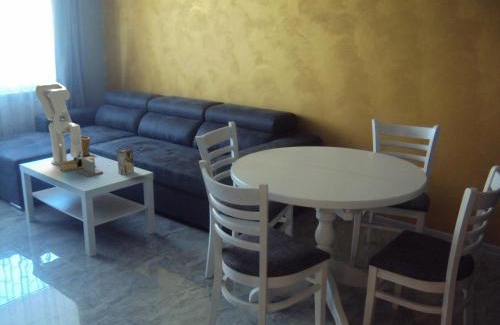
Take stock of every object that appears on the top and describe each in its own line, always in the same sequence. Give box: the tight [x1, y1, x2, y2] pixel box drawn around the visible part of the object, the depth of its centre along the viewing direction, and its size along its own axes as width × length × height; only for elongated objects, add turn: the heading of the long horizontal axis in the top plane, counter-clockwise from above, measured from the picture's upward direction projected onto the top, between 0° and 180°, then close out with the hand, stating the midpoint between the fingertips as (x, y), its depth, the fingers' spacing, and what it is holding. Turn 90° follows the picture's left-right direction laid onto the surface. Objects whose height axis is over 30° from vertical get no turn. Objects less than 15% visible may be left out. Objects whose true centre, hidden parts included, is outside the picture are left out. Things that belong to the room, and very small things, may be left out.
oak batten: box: [59, 156, 96, 173], centre depth 346 cm, size 4×24×6 cm, turn 136°
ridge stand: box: [75, 157, 104, 178], centre depth 335 cm, size 16×12×10 cm
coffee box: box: [116, 148, 135, 176], centre depth 336 cm, size 9×6×16 cm
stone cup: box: [81, 135, 91, 157], centre depth 381 cm, size 15×12×15 cm
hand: (78, 165), depth 347 cm, fingers closed on oak batten, 4 cm apart
